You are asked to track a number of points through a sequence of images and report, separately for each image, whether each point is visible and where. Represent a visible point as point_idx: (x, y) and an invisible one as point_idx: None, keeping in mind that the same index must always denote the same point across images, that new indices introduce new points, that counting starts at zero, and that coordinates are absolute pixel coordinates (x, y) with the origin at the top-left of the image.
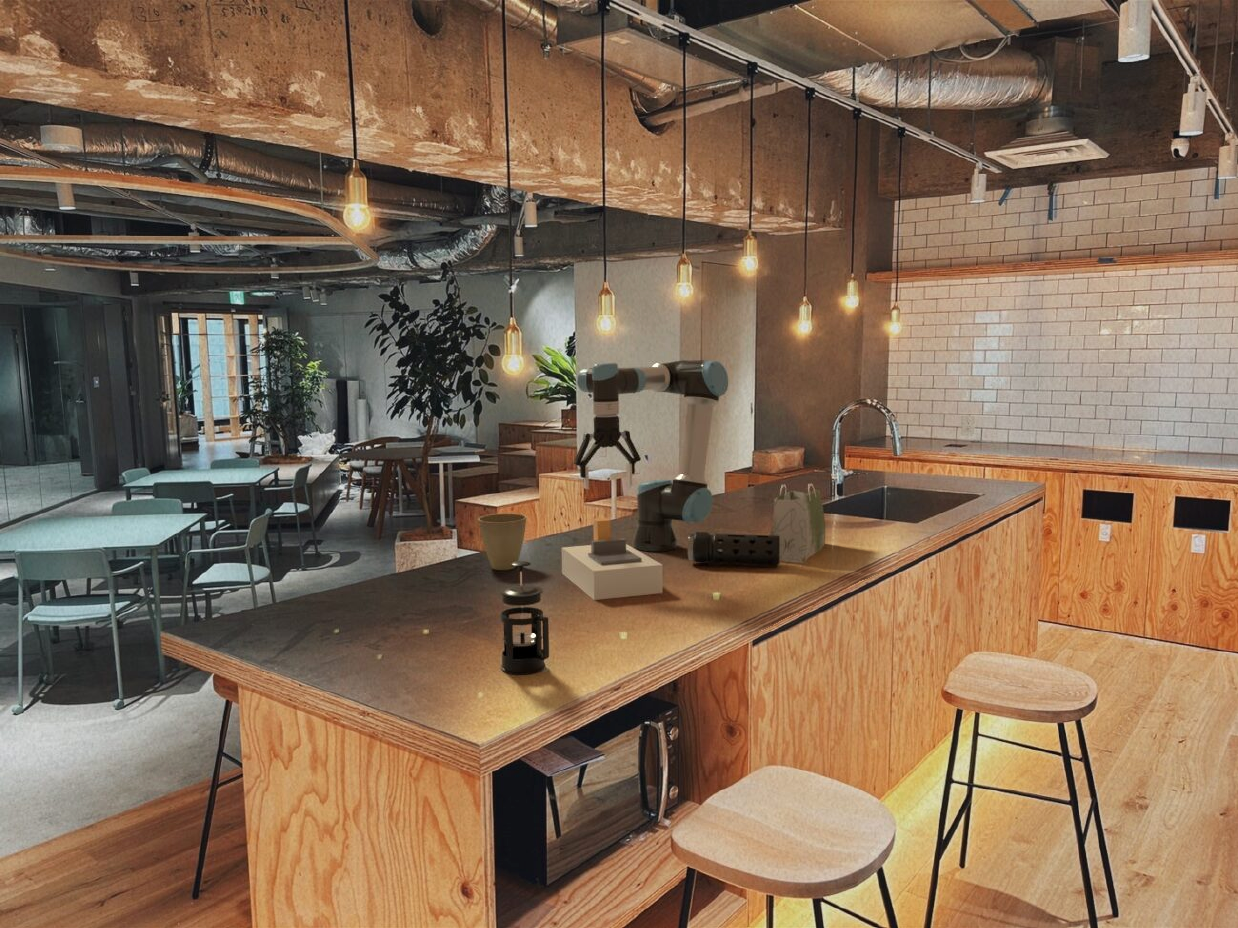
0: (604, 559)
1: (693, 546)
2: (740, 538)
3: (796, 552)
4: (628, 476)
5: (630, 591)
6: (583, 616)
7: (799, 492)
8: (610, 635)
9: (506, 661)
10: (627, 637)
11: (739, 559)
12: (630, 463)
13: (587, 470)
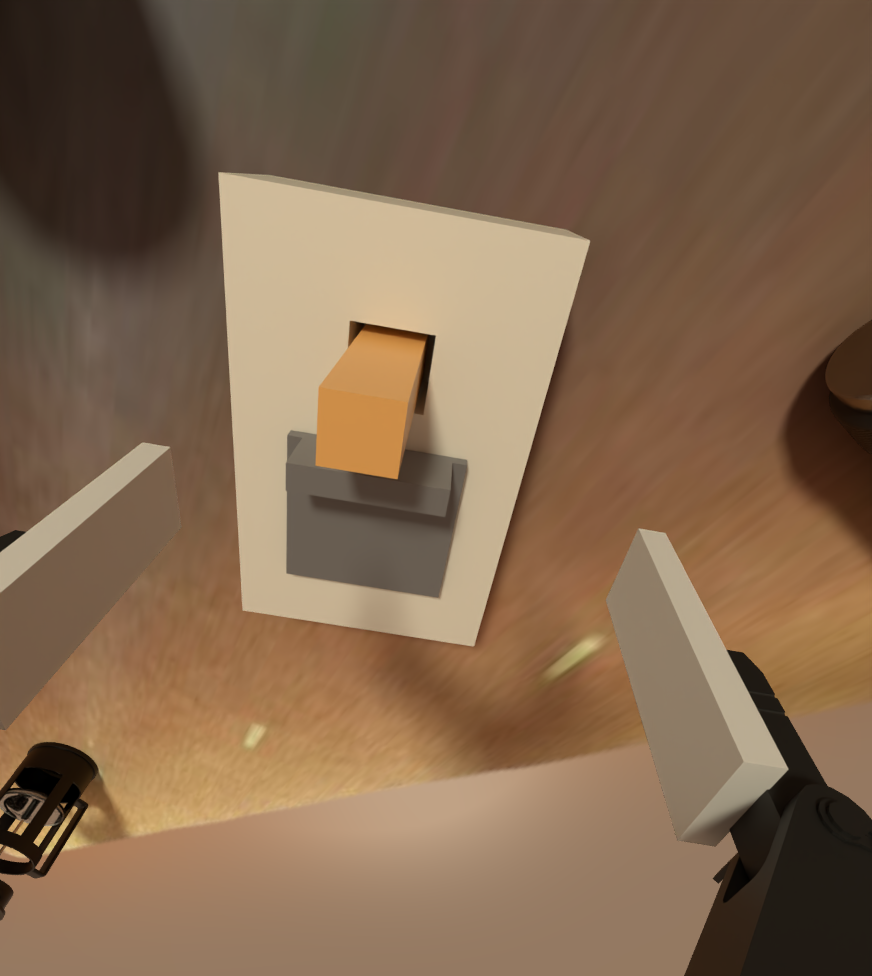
0: (310, 552)
1: (854, 420)
2: None
3: None
4: (642, 645)
5: None
6: (210, 635)
7: None
8: (231, 728)
9: (26, 782)
10: (256, 745)
11: None
12: (740, 821)
13: (29, 683)
